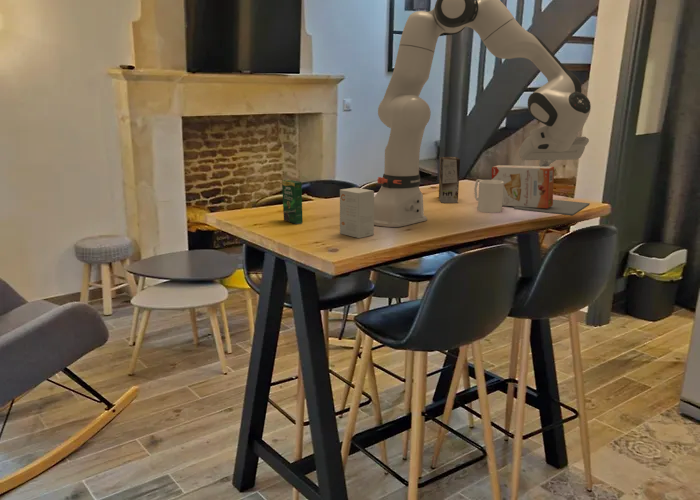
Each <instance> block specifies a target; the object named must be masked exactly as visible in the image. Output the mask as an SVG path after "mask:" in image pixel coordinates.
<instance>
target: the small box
mask: <svg viewBox="0 0 700 500" xmlns="http://www.w3.org/2000/svg"><path fill="white" fill-rule="evenodd" d="M374 197H375V190H371V189H366V188H360V187H350V188H342V189H339V234H341V235H346V236H350V237H353V238H356V239H360V238H365V237H370V236H374V235H375V234H374V233H375V231H374V230H375V225H374Z"/></svg>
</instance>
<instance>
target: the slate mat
mask: <svg viewBox="0 0 700 500" xmlns="http://www.w3.org/2000/svg"><path fill="white" fill-rule="evenodd" d="M589 205H591V204H590V202H580V201H573V200H564V199H563V200H561V199H553V206H551V207H549V208H532V207H518V206H513V210H521V211H527V212H528V211H529V212H538V213H547V214H548V213H549V214H555V215H556V214H557V215H565V216H566V215H567V216H574V215H576V214H577V213H578V212H580V211H582V210H583V209H585V208H586V207H588V206H589Z"/></svg>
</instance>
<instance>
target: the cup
mask: <svg viewBox="0 0 700 500" xmlns="http://www.w3.org/2000/svg"><path fill="white" fill-rule="evenodd" d="M503 187H504V182H503V181H499V180H492V179H479V178H477V179H476V180H475V183H474V188H473V189H474V198H475V200H476V201H477V211H478V212H482V213H491V214H493V213H494V214H495V213H500V212H502V211H503V206H502V201H503Z"/></svg>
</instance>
